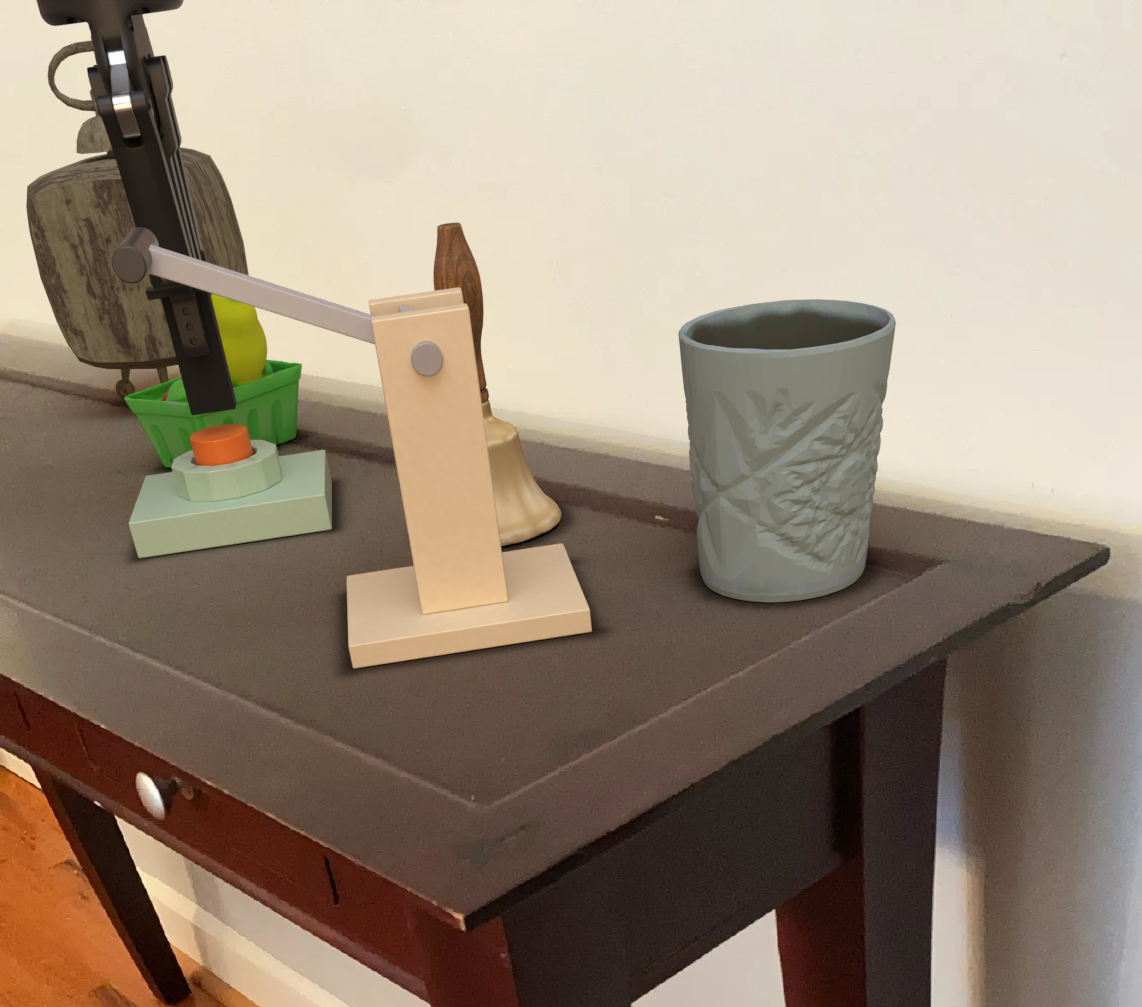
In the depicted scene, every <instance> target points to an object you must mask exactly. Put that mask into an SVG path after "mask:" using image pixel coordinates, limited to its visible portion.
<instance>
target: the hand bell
mask: <svg viewBox="0 0 1142 1007" xmlns="http://www.w3.org/2000/svg"><path fill="white" fill-rule="evenodd" d="M458 287H460V288H461V290H462V294H463V302H464V304H467V305H468V308H469V313H470V320H471V328H472V335H473V342H474V350H475V357H476V365H477V372H478V379H479V387H480V394H481V402H482V409H483V417H484V424H485V431H486V439H487V446H488V454H489V461H490V468H491V476H492V483H493V491H494V498H495V506H496V513H497V520H498V528H499V535H500V543H501V547H504V546H510V545H514V544H515V545H516V544H519V543H524V542H526V541H528V540H531V539H534V538H536V537H539V536H540V535H542V534H545V533H548V532H549V531H551V530H552V529H553V528H554V527H556V526H557V525H558V524H559V523H560V521H561V519H562V511H561V509H560V508H559V506H558V503H556V502H555V501H554V500H553V499H552V498H551V497H550V496H548V495H546V493H544V491H543V490H542V489H541V488H540V486H539V485H538V483H537V482H536V480H535V479H534V477H533V475H532V472H531V470H530V467H529V466H528V463H527V460H526V457H525V454H524V450H523V447H522V443H521V439H520V434H519V431H518V429H517V427H516V426H515V425H514V424H512V423H510V422H508V421H504V420H502V419H500V418H497V417H495V416H494V415H493V411H492V407H491V402H490V394H489V390H488V388H487V386H488V385H487V378H486V373H485V368H484V362H483V356H482V334H483V327H484V315H485V314H484V313H485V312H484V310H485V309H484V294H483V285H482V280H481V275H480V271H479V267H478V265H477V262H476V259H475V257H474V254H473V253H472V250H471V248H470V245H469V243H468V240H467V239H466V236H465V232H464V231H463V226H462V223H461V222H446V223H442V224H439V225H438V226H437V228H436V247H435V253H434V261H433V289H434V290H433V291H437V290H444V289H451V288H458Z"/></svg>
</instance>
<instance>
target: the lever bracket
mask: <svg viewBox="0 0 1142 1007" xmlns="http://www.w3.org/2000/svg"><path fill="white" fill-rule="evenodd" d="M400 305H402V306H405V307H408V308H411V309H414V310H416V311H409V312H402V313H398V310H399V306H400ZM368 306H369V314H370V315H373V316H374V317H371V324H372V330H373V336H374V341H375V344H374V347H375V352H376V357H377V359H376V360H377V364H378V369H379V375H380V381H381V387H382V392H383V398H384V399H383V400H384V404H385V409H386V416H387V421H388V427H389V432H390V438H391V439H390V440H391V444H392V450H393V456H394V461H395V466H396V472H397V479H398V484H399V489H400V495H401V500H402V506H403V512H404V518H405V523H406V530H407V534H408V540H409V541H408V542H409V547H410V552H411V558H412V563H413V565H409V566H403V567H396V568H390V569H383V570H376V571H369V572H362V573H357V574H350V575H349V574H348V575H346V578H345V579H346V607H347V608H346V609H347V610H346V611H347V643H348V644H347V646H348V647H347V648H348V652H349V656H350V662H351V666H352V668H353V669H361V668H367V667H373V666H379V665H387V664H393V663H399V662H405V661H412V660H418V659H425V658H431V657H437V656H445V655H451V654H457V653H463V652H471V651H477V650H483V649H489V648H494V647H496V648H497V647H501V646H508V645H514V644H515V645H516V644H521V643H528V642H535V641H541V640H547V639H555V638H560V637H567V636H573V635H579V634H587V633H592V632H593V626H592V617H591V616H592V615H591V609H590V607H589V606H590V605H589V603H588V601H587V599H586V596H585V594H584V591H583V589H582V587H581V585H580V582H579V580H578V577H577V575H576V572H575V570H574V568H573V565H572V562H571V560H570V557H569V555H568V552H567V550H566V547H565V545H564V543H561V542H559V543H554V544H549V545H547V544H546V545H541V546H533V547H528V548H523V549H522V548H521V549H515V550H507V551H502V546H501V543H500V535H499V528H498V520H497V513H496V506H495V498H494V491H493V483H492V476H491V468H490V461H489V454H488V446H487V439H486V431H485V424H484V417H483V409H482V402H481V394H480V387H479V379H478V372H477V365H476V357H475V350H474V342H473V335H472V328H471V320H470V313H469V308H468V305H467V304H464V302H463V294H462V290H461V288H460V287H458V288H451V289H444V290H437V291H435V290H430V291H424V292H417V293H409V294H403V295H396V296H387V297H381V298H374V299H373V298H372V299H369V300H368Z"/></svg>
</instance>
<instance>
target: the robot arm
mask: <svg viewBox="0 0 1142 1007" xmlns="http://www.w3.org/2000/svg"><path fill="white" fill-rule="evenodd" d="M35 2H36V5H37V8H38V11H39V14H40V17H41V18H42V20H43V21H44V22H45V23H46V24H47V25H49V26H52V27H58V26H67V25H75V24H82V23H87V24H88V29H89V31H90V41H92V45H93V50H94V51H93V54H94V55H93V56H94V59H95V63H96V64H93V66H87V67H86V71H87V78H88V82H89V85H90V90H91V89H92V93H93V97H94V100H95V102H96V103H97V104H98V105H96V106H97V111H98V114H99V116H101V118H102V121H103V124H104V126H105V129H106V132H107V135H108V138H109V140H110V143H111V147H112V150H113V154H114V156H115V159H116V162H117V166H118V169H119V172H120V176H121V179H122V183H123V186H124V189H125V193H126V196H127V199H128V203H129V206H130V210H131V213H132V216H133V220H134V223H135V226H136V227H143V228H146V229H148V230H150V231H151V232H152V233H153V234H154V235H155V236H156V238H157V240H158V244H159V247H161V248H164V249H167V250H170V251H173V252H176V253H179V254H182V255H186V256H189V257H192V258H195V259H198V260H201V261H204V262H206V255H205V251H203V250H202V245H201V240H200V236H199V231H198V227H197V222H196V217H195V213H194V208H193V204H192V199H191V194H190V190H189V185H188V180H187V176H186V171H185V167H184V162H183V157H182V153H181V148H180V147H181V146H182V142H183V141H182V135H181V131H180V130H181V129H180V126H179V122H178V119H177V113H176V110H175V105H174V101H173V97H172V96H173V95H172V93H173V91H174V81H173V77H172V73H171V69H170V64H169V60H168V58H167V56H166V55H165V54H163V55H157V56H156V55H155V53H154V50H153V47H152V43H151V38H150V35H149V32H148V28H147V26H146V23H145V20H144V15H147V14H153V13H154V14H155V13H161V12H168V11H174V10H178V9H180V8H181V7H182V5H183V4H184V0H36V1H35ZM149 279H150V283H151V285H153V286H151V287H147V288H146V290H145V292H146V295H147V298H148V300H155V299H161V301H162V305H163V309H164V312H165V316H166V320H167V324H168V328H169V332H170V335H171V339H172V343H173V347H174V351H175V355H176V358H177V362H178V365H177V366H178V369H179V373H180V377H182V381H183V385H184V389H185V393H186V397H187V400H188V404H189V408H190V412H191V416H192V415H199V414H205V413H212V412H219V411H225V410H232V409H236V404H237V402H236V398H235V394H234V390H233V385H232V381H231V377H230V373H229V369H228V365H227V361H226V356H225V352H224V348H223V344H222V340H221V336H220V331H219V327H218V323H217V319H216V315H215V311H214V307H213V302H212V298H211V294H210V293H209V292H206V291H203V290H200V289H196V288H193V287H190V286H187V285H184V284H180V283H177V282H174V281H171V280H168V279H164V278H161V277H158V276H155V275H152V274H150V275H149Z"/></svg>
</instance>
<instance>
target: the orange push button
mask: <svg viewBox="0 0 1142 1007" xmlns="http://www.w3.org/2000/svg"><path fill="white" fill-rule="evenodd" d="M190 442H191V446H192V450H193V453H194V457H195V461H196V465H197V466H217V465H223V464H230V463H234V462H237V461H241V460H244V459H247V458H249V457H251V456H253V455H254V454H253V450H252V446H251V442H250V437H249V433H248V429H247V427H246V426H243V425H236V424H230V425H220V426H214V427H210V428H206V429H203V430H200V431H198V432H196V433H194V434H192V435H191V436H190Z"/></svg>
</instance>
